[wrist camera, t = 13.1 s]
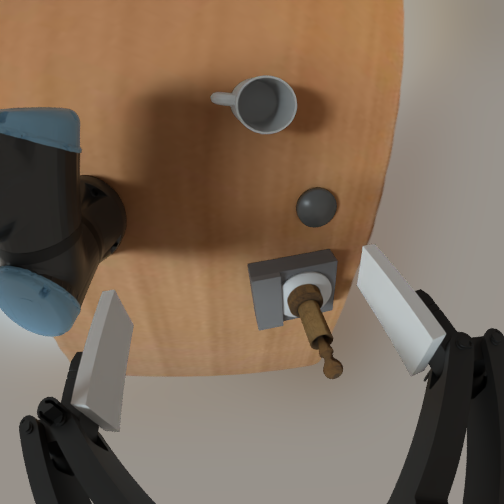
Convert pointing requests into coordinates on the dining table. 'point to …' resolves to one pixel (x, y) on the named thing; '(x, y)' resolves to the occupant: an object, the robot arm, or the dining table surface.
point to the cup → (261, 103)
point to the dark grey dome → (316, 207)
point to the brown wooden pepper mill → (315, 325)
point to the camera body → (290, 284)
